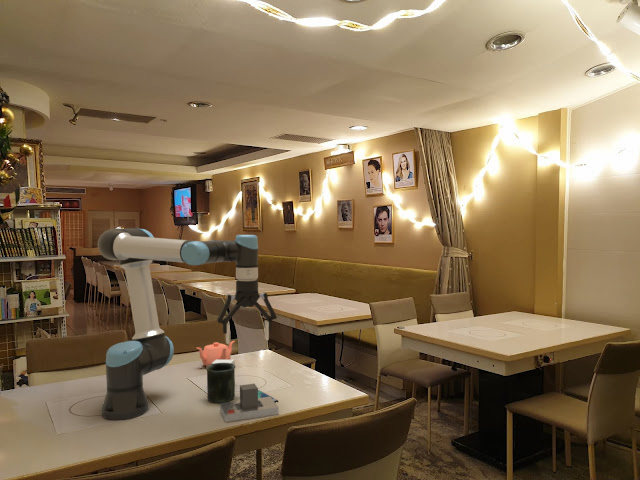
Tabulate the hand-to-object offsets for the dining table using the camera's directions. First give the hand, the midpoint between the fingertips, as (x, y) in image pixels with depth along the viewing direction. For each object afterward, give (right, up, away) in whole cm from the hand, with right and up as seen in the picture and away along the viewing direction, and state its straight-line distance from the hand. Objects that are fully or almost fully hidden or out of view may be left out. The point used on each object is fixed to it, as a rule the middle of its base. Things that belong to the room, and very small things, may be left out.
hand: (247, 341), depth 162 cm
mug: (-13, -25, +16) cm, 32 cm away
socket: (0, -25, 0) cm, 25 cm away
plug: (0, -25, 0) cm, 25 cm away
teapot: (-22, -24, +56) cm, 65 cm away
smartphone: (+3, -25, +14) cm, 29 cm away
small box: (-14, -25, +27) cm, 39 cm away
